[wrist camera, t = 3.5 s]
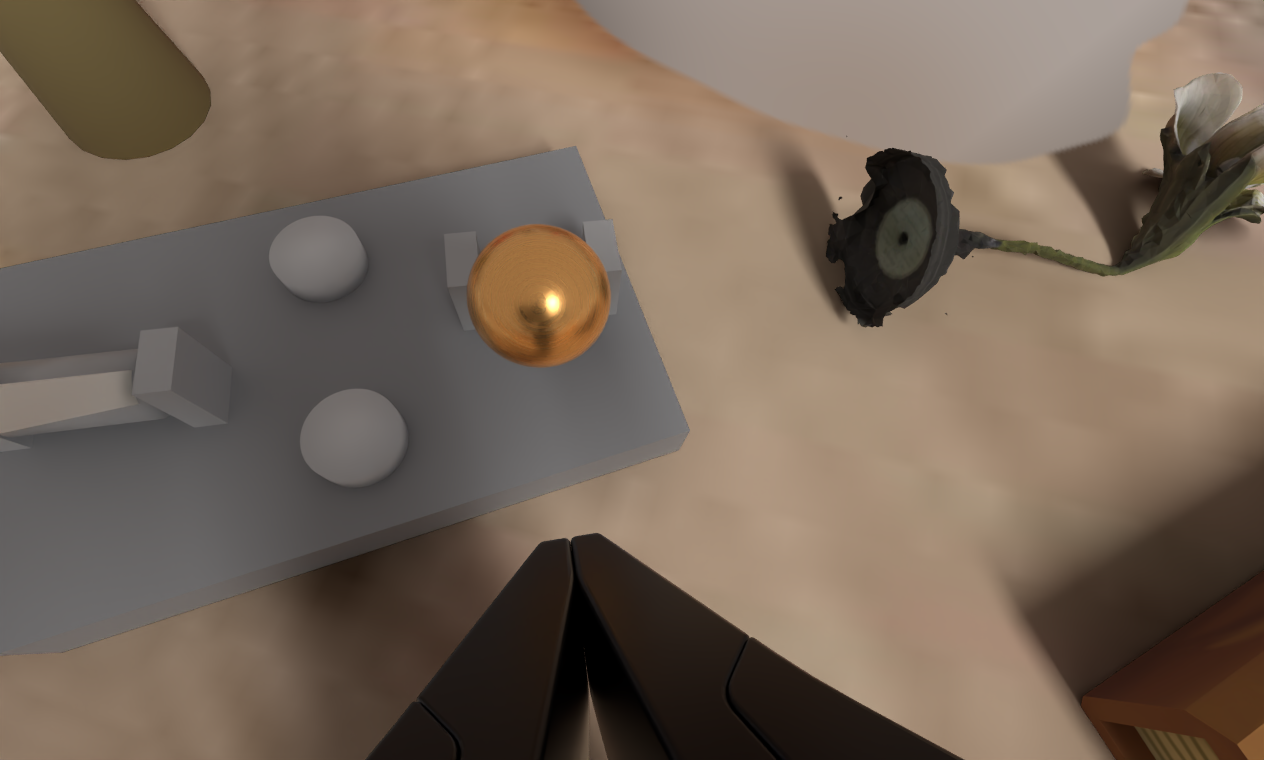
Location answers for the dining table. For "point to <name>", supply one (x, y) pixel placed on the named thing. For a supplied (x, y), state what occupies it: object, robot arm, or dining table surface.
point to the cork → (105, 74)
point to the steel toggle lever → (538, 295)
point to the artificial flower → (930, 237)
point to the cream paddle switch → (71, 394)
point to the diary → (1192, 689)
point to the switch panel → (302, 398)
